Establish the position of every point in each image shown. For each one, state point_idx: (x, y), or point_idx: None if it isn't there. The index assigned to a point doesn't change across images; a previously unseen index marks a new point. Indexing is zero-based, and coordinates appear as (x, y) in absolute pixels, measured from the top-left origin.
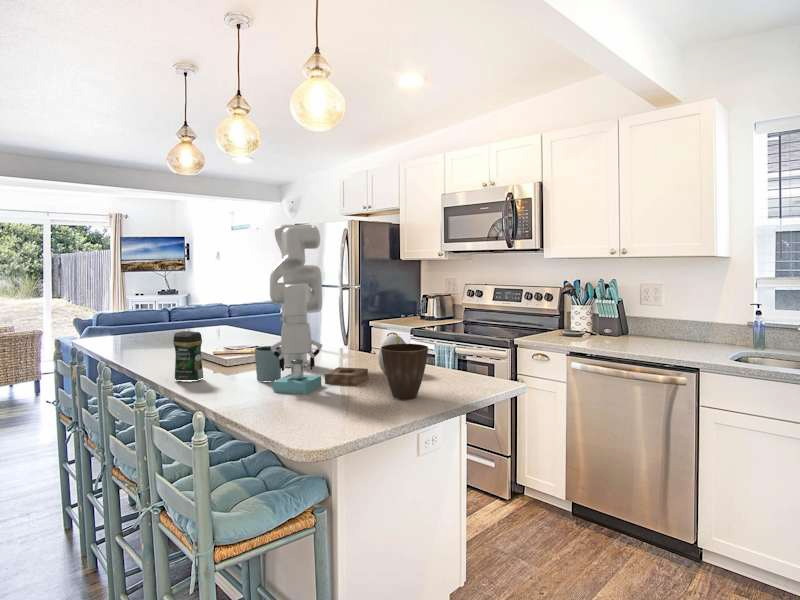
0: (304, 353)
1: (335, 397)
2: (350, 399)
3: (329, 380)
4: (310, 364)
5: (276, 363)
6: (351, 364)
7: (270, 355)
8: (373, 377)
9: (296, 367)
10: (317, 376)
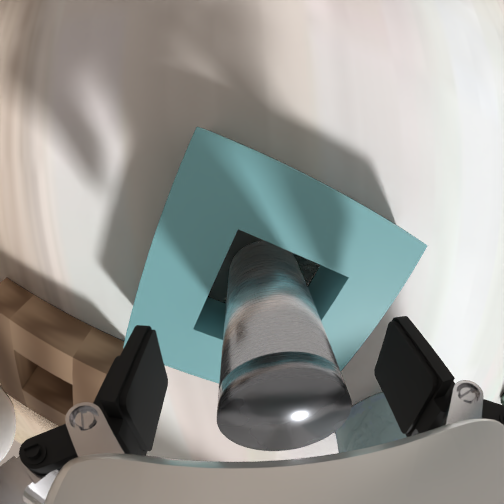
0: (166, 458)
1: (57, 56)
2: (16, 36)
3: (103, 345)
4: (139, 357)
5: None
6: None
7: None
8: None
9: (286, 325)
10: None
